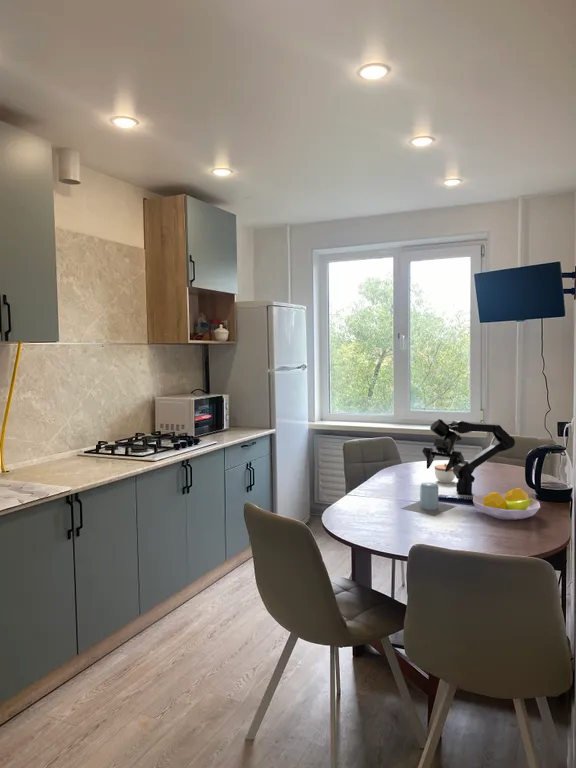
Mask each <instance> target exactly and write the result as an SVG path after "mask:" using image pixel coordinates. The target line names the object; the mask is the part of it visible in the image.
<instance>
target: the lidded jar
mask: <svg viewBox="0 0 576 768" xmlns="http://www.w3.org/2000/svg"><path fill="white" fill-rule="evenodd" d="M447 464H448V463H444V464H436V465H435V466H434V475H435V478H436V479H437V481H438V482H439V483H442V484H451V483H452V482H453V481H454V479H455V478H456V475H455V474H454V473H453V468H451V469H450V470H449V471H447V472H446V471H445V469H446V466H447Z"/></svg>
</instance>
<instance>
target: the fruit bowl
mask: <svg viewBox="0 0 576 768" xmlns="http://www.w3.org/2000/svg"><path fill="white" fill-rule="evenodd" d="M472 502H473V505H474V506H475V508H476V509H477V510H479V511H480V512H481V513H483V514H486V515H488V516H491V517H493V518H496V519H498V520H517V519H521V520H524V519H526V518H530V517H533V516H534V515H535V514H536V513H538V511H539V510H540V508H541V505H540V502H539V501H538V500H536V499H533V498H532V497H530V498H529V495H528V493H527V492H526V491H524V490H523V489H522V488H520V487H517V488H512V489H511V490H508V491H507V492H506V493H500V492H497V491H492V492H490V493H489V492H488V493H487V492H486V493H482V494H481V493H480V494H476V495H473V498H472Z"/></svg>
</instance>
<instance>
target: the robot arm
mask: <svg viewBox="0 0 576 768" xmlns="http://www.w3.org/2000/svg"><path fill="white" fill-rule="evenodd" d="M429 430H430V431H431V432H433V433H434V434H435V435H436V436H438V437H439V438H434V442H433V446H435V450H434V449H433V448H432V447H428V446H424V447H423V448H422V451H421V452H422V453H423V456H424V457H425V459H426V469H427V470H428V469H430V467H431V466H432V464H433V462H434V459H435V457H442V458H446V459H447V458H448V459H449V460H448V461H447V462H448V463H446V464H447V466H446V469H445V471H446V472H447V471H449V470H450V469H451V468H453V473H454V474H455V478H456V479H457V482H456V486H455V489H456V493H457V495H467V496H473V483H474V482H475V476H474V475H473V473H474V471H475V469H477V468H478V467H479V466H481V465H482V464H483V463H486V461H488V460H490V459H491V458H493V457H494V456H496V455H497V454H499V453H501V452H504V451H505V452H506V451H508V450H511V449H512V448H513V447H515V444H516V441H515V438H514V436H513V437H512V436H511V435H510V434H509V433H508V432H507V431H505V430H504V428H502V426H501V425H500V424H497V423H480V422H479V423H478V422H476V423H475V422H467V421H464V420H459V419H454V420H453V421H452V422H449V423H445V422H444V420H442V419H441V418H438V419H437V420H436V421H434V422H433V423H432V424H431V425H430V428H429ZM472 432H478V433H479V432H480V433H492V434H493V435H492V436H493V437H494V438H495V439H494V441H493V443H492V444H490V446H488V447H487V448H485V449H483V450H482V451H480V452H479V453H477V454H476V455H475V456H473V457H471V458H470V459H468V460H465V457H464V456H463V454H462V452H461V451H457V450H455V445H456V442H459V441H462V437H461V435H462V434H467V433H472ZM457 433H458V434H457ZM460 434H461V435H460ZM441 437H443V438H442V439H441Z"/></svg>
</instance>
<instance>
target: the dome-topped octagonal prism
mask: <svg viewBox="0 0 576 768" xmlns="http://www.w3.org/2000/svg"><path fill="white" fill-rule="evenodd" d="M419 488H420V491H419V492H420V494H419V497H420V498H419V501H420V507H421V508H423V509H427V510H435V509H437V508H438V502H439V484H438V483H435V482H422V483H420V486H419Z"/></svg>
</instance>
